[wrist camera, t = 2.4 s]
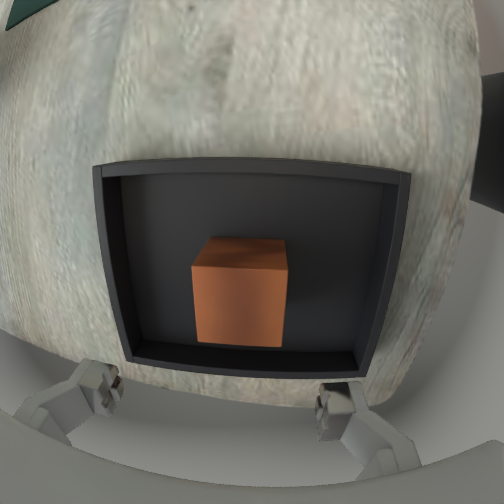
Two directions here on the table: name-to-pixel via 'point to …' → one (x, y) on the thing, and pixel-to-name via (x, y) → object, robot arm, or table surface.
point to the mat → (25, 10)
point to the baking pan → (258, 227)
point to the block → (241, 291)
